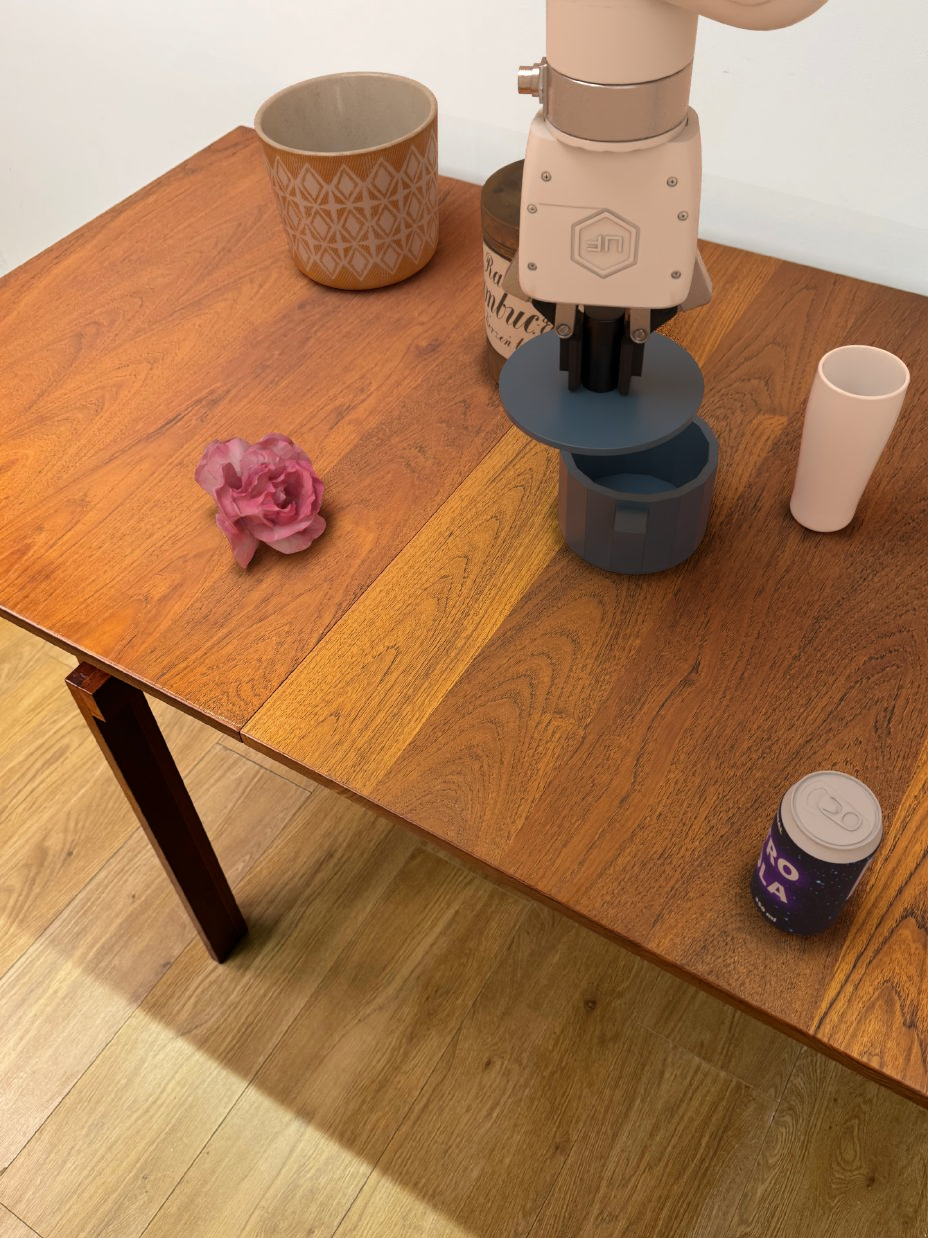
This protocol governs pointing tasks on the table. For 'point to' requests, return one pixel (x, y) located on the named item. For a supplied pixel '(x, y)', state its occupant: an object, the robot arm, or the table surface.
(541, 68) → the robot arm
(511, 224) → the wooden container
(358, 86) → the planter
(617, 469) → the pot
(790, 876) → the beverage can
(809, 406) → the drinking glass
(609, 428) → the pot lid
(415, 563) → the table surface
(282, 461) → the flower
